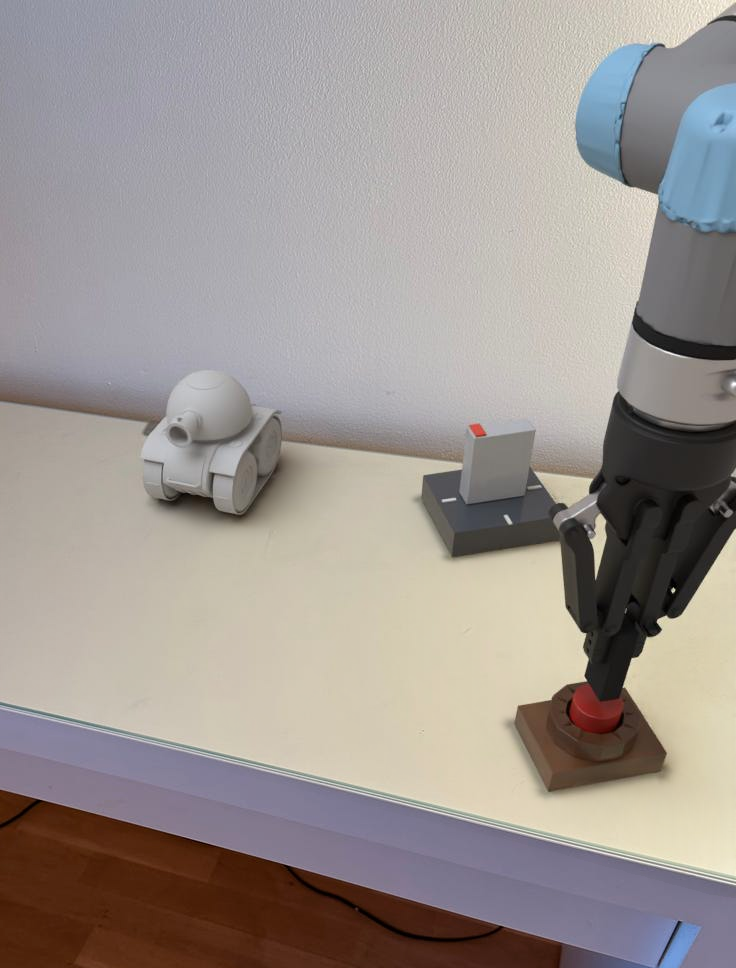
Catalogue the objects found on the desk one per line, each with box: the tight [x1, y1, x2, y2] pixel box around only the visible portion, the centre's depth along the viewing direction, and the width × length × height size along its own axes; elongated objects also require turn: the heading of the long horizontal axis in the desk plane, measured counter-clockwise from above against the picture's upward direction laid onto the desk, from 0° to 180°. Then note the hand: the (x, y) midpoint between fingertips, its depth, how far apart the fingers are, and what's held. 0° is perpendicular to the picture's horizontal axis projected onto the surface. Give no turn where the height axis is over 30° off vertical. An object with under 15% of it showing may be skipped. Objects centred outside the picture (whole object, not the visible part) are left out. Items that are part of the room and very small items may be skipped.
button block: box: [513, 680, 668, 792], centre depth 74 cm, size 9×7×4 cm
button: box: [570, 684, 623, 734], centre depth 72 cm, size 4×4×2 cm
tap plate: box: [420, 466, 560, 558], centre depth 96 cm, size 11×10×3 cm
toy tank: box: [139, 369, 283, 516], centre depth 100 cm, size 15×11×13 cm
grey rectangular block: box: [459, 417, 536, 504], centre depth 92 cm, size 6×2×8 cm, turn 100°
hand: (601, 687), depth 71 cm, fingers closed
